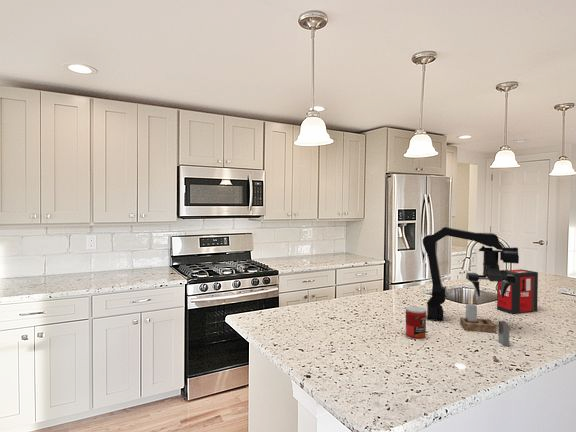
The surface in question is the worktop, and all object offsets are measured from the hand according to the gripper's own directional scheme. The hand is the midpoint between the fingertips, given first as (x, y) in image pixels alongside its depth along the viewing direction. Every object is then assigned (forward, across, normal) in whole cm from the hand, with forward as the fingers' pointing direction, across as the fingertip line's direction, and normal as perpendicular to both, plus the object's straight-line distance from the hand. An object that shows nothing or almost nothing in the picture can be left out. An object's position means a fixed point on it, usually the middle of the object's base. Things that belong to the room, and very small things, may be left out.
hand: (490, 297), depth 158 cm
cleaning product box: (+13, +21, +31) cm, 40 cm away
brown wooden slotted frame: (+13, -6, -4) cm, 15 cm away
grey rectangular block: (+13, -1, -21) cm, 25 cm away
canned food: (+13, -33, -20) cm, 41 cm away
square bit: (+13, -9, -4) cm, 16 cm away
